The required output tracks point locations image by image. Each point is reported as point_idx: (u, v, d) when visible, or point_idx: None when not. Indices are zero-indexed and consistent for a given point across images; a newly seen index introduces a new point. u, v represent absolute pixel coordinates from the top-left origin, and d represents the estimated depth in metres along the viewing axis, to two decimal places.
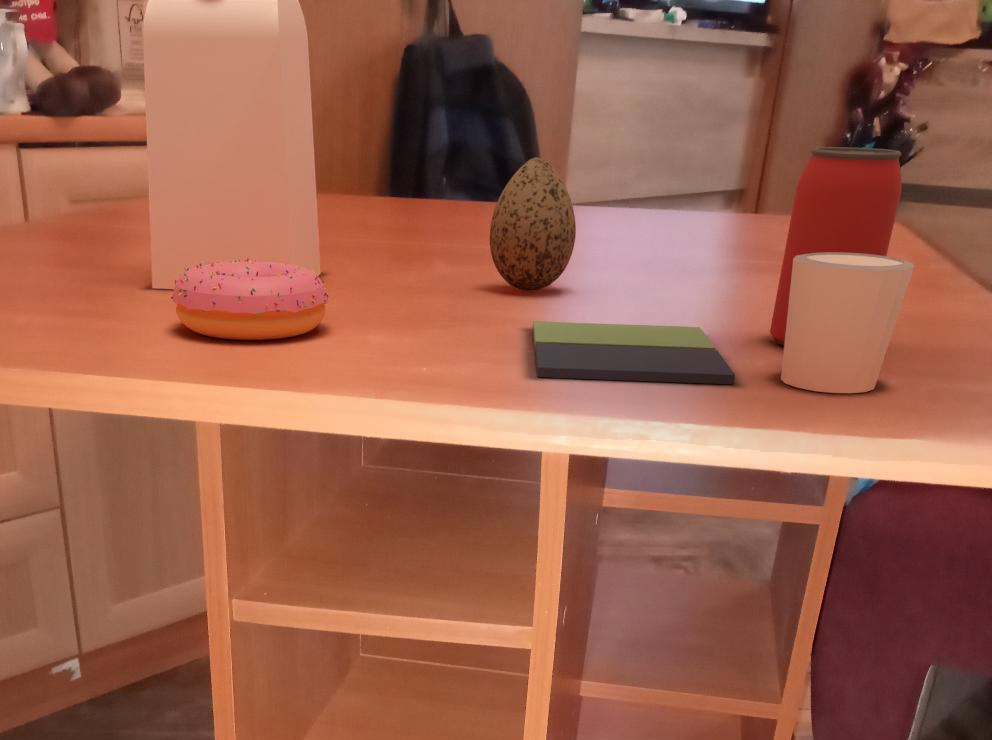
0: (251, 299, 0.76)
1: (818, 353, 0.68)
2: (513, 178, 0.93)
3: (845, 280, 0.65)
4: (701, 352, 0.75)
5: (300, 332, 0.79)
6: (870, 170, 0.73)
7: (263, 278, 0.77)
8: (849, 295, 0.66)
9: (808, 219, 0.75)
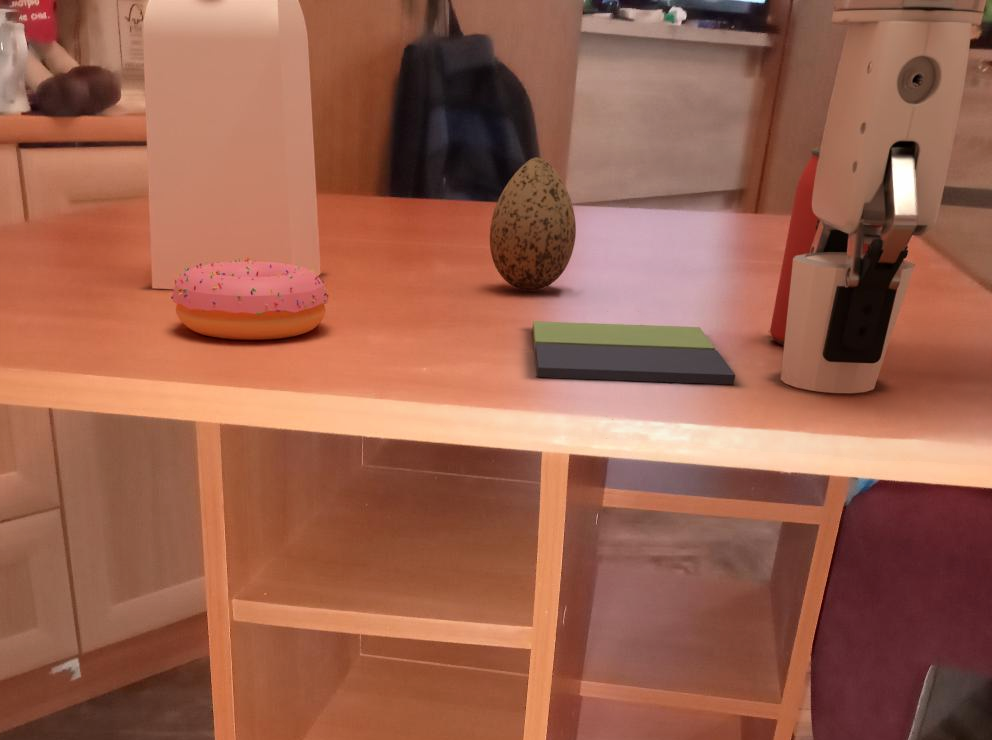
0: (251, 299, 0.76)
1: (818, 354, 0.68)
2: (513, 178, 0.93)
3: None
4: (701, 352, 0.75)
5: (300, 332, 0.79)
6: None
7: (263, 278, 0.77)
8: None
9: (808, 219, 0.75)
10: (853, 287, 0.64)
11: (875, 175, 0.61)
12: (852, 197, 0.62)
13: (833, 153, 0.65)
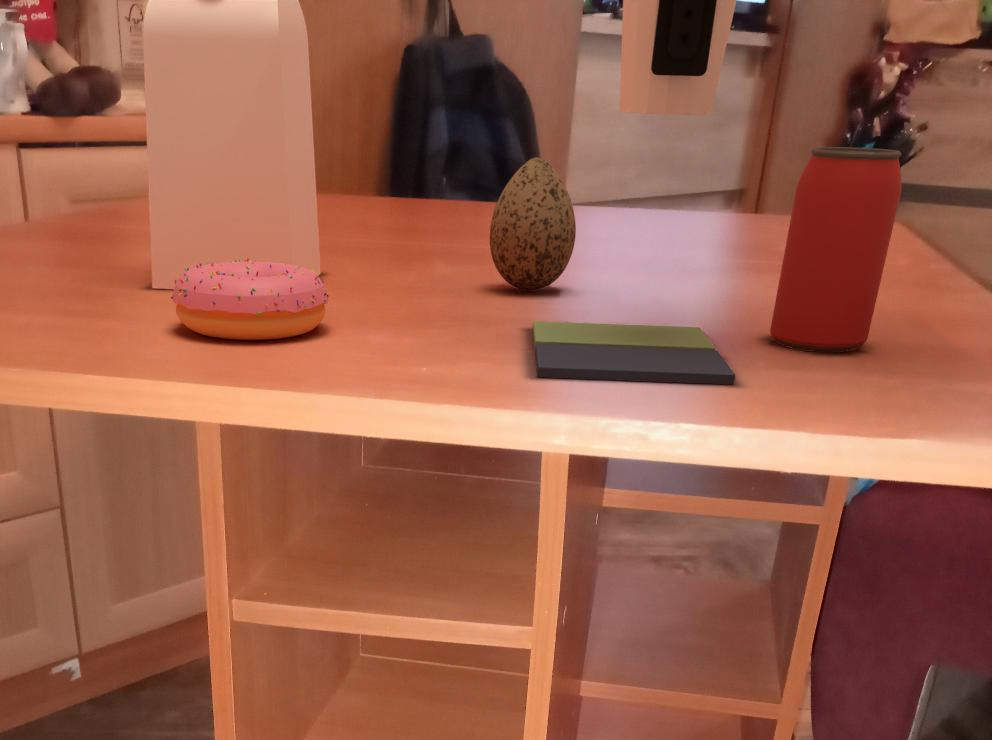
0: (251, 299, 0.76)
1: (648, 72, 0.69)
2: (513, 178, 0.93)
3: None
4: (701, 352, 0.75)
5: (300, 332, 0.79)
6: (870, 170, 0.73)
7: (263, 278, 0.77)
8: None
9: (808, 219, 0.75)
10: None
11: None
12: None
13: None
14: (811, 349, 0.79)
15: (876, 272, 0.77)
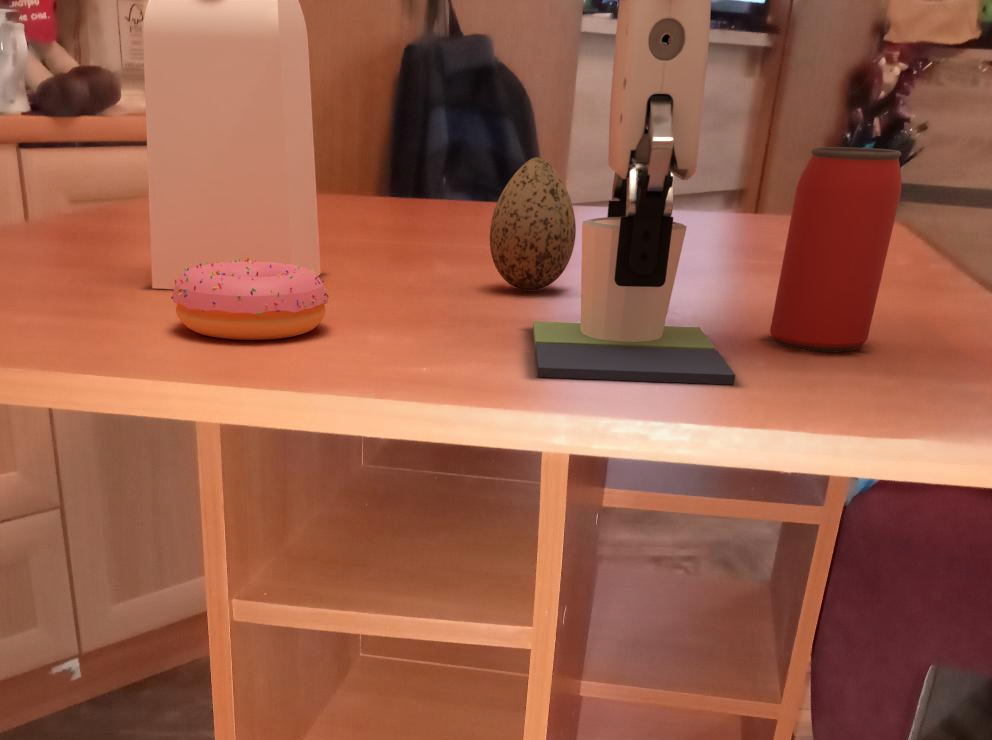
0: (251, 299, 0.76)
1: (604, 306, 0.77)
2: (513, 178, 0.93)
3: None
4: (701, 352, 0.75)
5: (300, 332, 0.79)
6: (870, 170, 0.73)
7: (263, 278, 0.77)
8: None
9: (808, 219, 0.75)
10: (632, 215, 0.71)
11: (637, 125, 0.69)
12: (621, 145, 0.70)
13: (612, 108, 0.73)
14: (811, 349, 0.79)
15: (876, 272, 0.77)
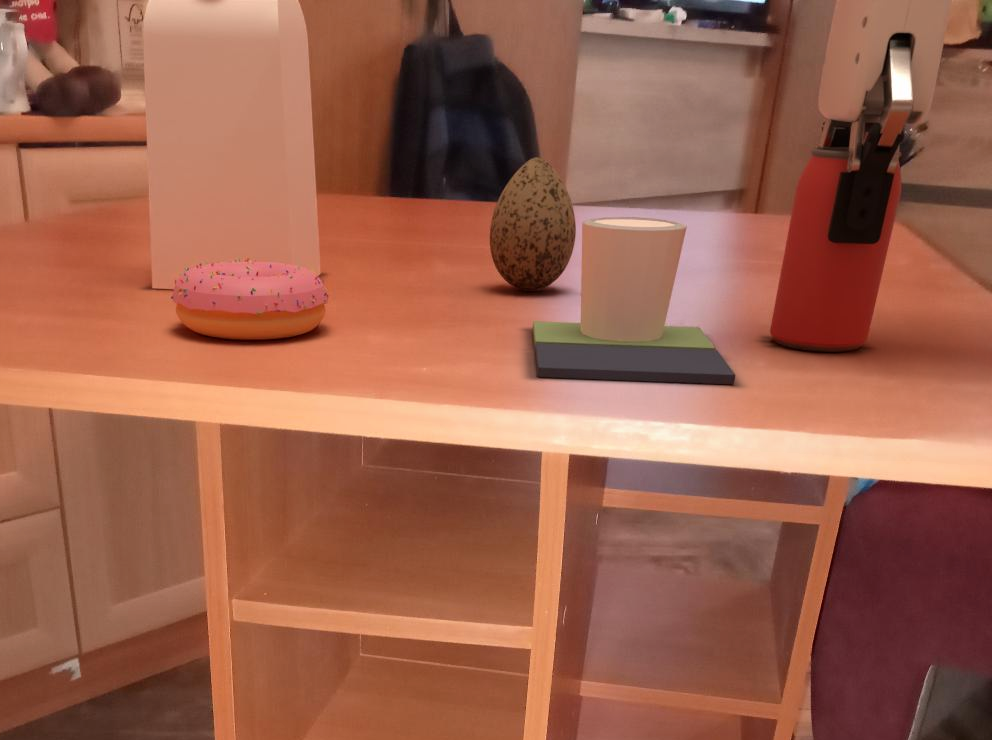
0: (251, 299, 0.76)
1: (604, 306, 0.77)
2: (513, 178, 0.93)
3: (620, 240, 0.74)
4: (701, 352, 0.75)
5: (300, 332, 0.79)
6: None
7: (263, 278, 0.77)
8: (624, 253, 0.74)
9: (807, 219, 0.75)
10: (855, 171, 0.71)
11: (875, 65, 0.68)
12: (855, 86, 0.69)
13: (838, 50, 0.72)
14: (811, 349, 0.79)
15: (876, 273, 0.77)
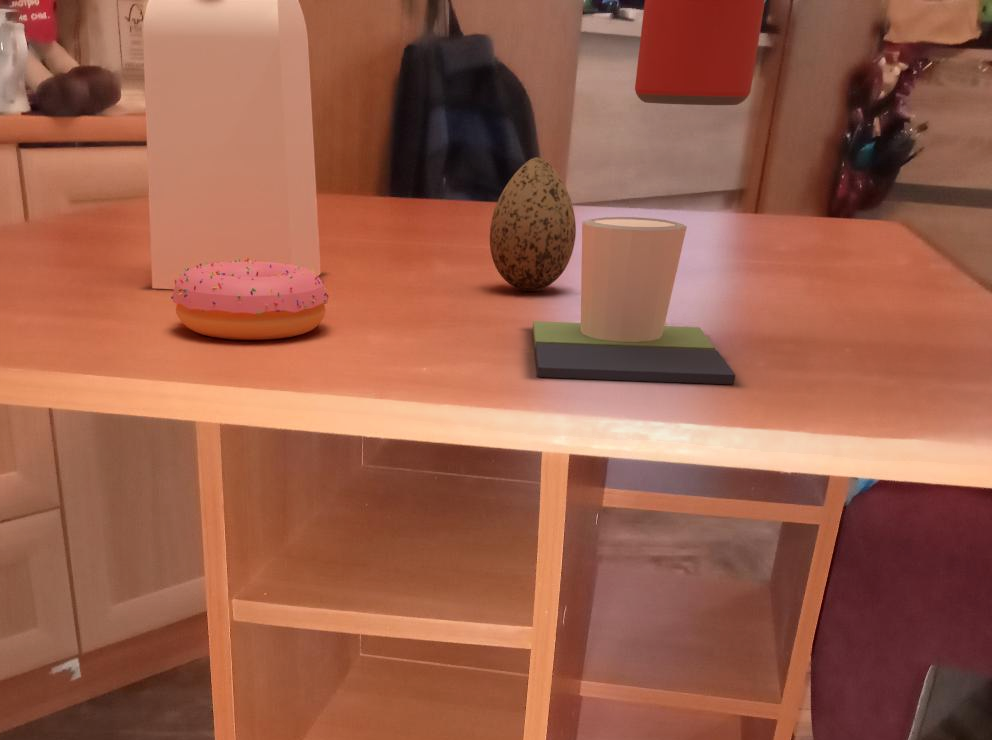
0: (251, 299, 0.76)
1: (604, 306, 0.77)
2: (513, 178, 0.93)
3: (620, 240, 0.74)
4: (701, 352, 0.75)
5: (300, 332, 0.79)
6: None
7: (263, 278, 0.77)
8: (624, 253, 0.74)
9: None
10: None
11: None
12: None
13: None
14: (679, 101, 0.64)
15: None
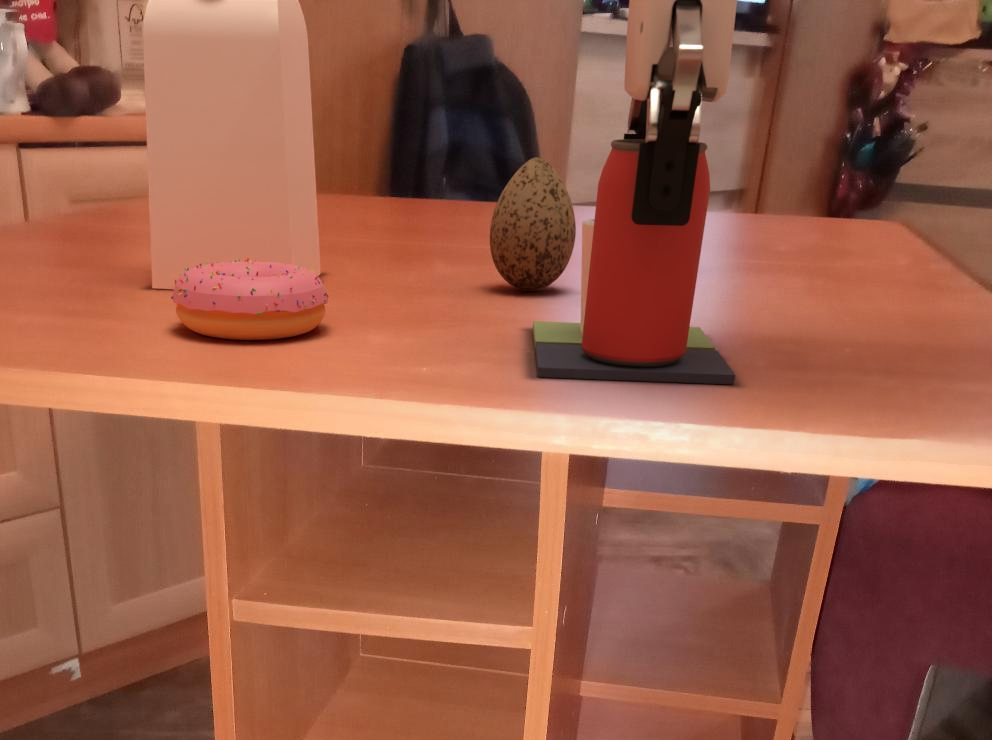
0: (251, 299, 0.76)
1: None
2: (513, 178, 0.93)
3: None
4: (701, 352, 0.75)
5: (300, 332, 0.79)
6: None
7: (263, 278, 0.77)
8: None
9: (607, 219, 0.68)
10: (653, 141, 0.62)
11: (660, 34, 0.60)
12: (641, 59, 0.61)
13: (630, 20, 0.64)
14: (620, 364, 0.71)
15: (686, 279, 0.69)
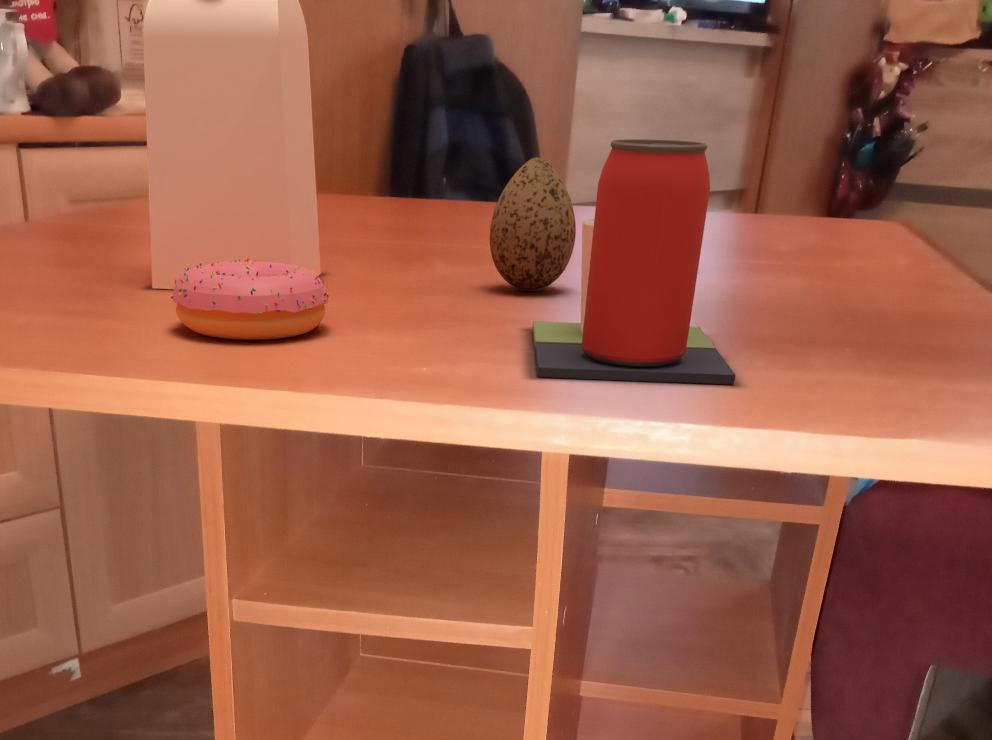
0: (251, 299, 0.76)
1: None
2: (513, 178, 0.93)
3: None
4: (701, 352, 0.75)
5: (300, 332, 0.79)
6: (669, 165, 0.65)
7: (263, 278, 0.77)
8: None
9: (607, 220, 0.68)
10: None
11: None
12: None
13: None
14: (620, 364, 0.71)
15: (686, 279, 0.69)
